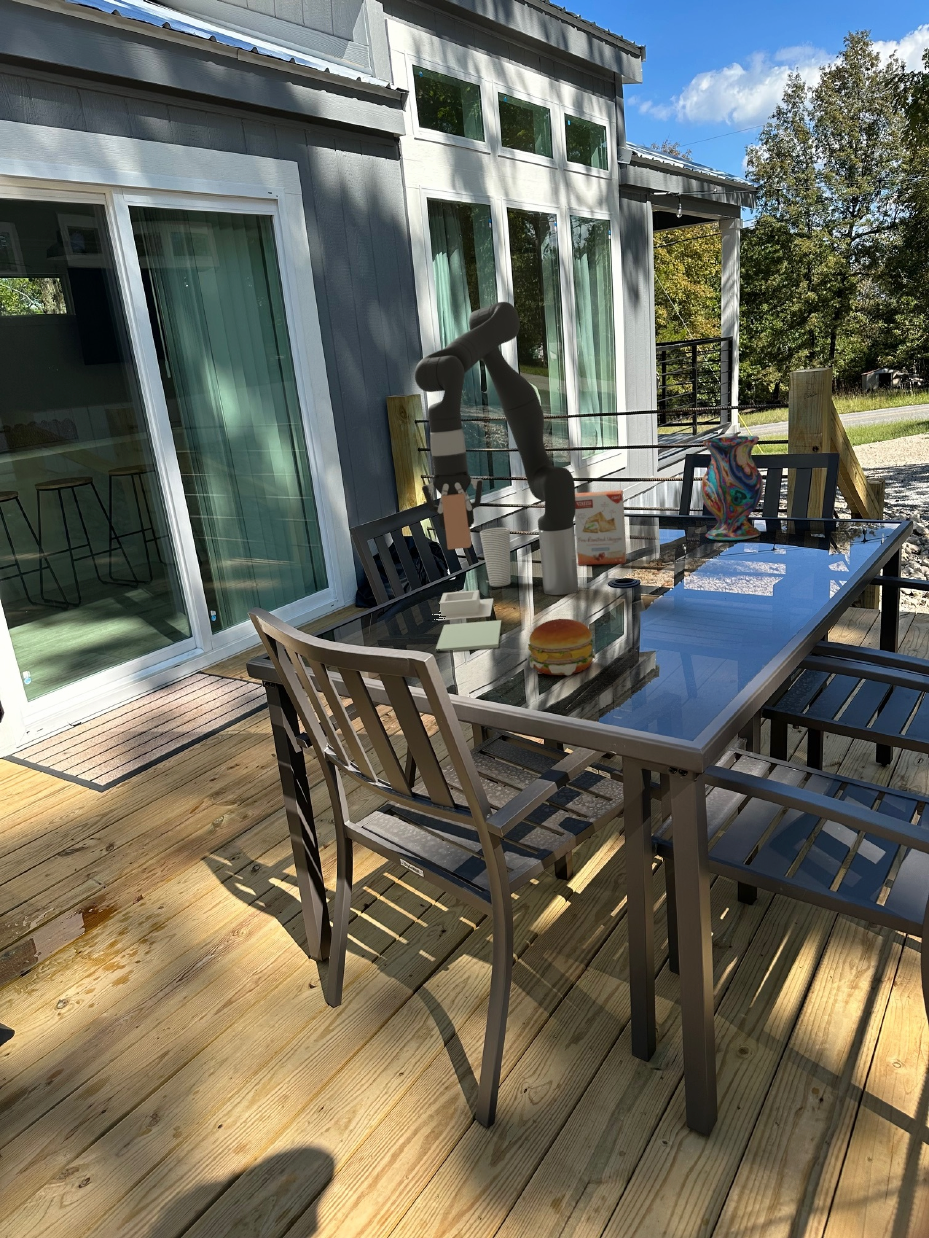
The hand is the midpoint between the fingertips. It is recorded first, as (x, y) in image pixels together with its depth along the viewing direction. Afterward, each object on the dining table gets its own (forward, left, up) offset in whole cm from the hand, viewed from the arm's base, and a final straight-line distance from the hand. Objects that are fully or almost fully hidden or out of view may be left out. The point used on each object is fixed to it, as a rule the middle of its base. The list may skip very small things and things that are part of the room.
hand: (457, 527), depth 193 cm
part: (0, 0, -4) cm, 4 cm away
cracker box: (-35, -62, -26) cm, 76 cm away
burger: (-21, +25, -26) cm, 42 cm away
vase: (-77, -82, -26) cm, 115 cm away
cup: (-5, -47, -26) cm, 54 cm away
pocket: (+4, -22, -26) cm, 34 cm away
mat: (0, 0, -26) cm, 26 cm away
